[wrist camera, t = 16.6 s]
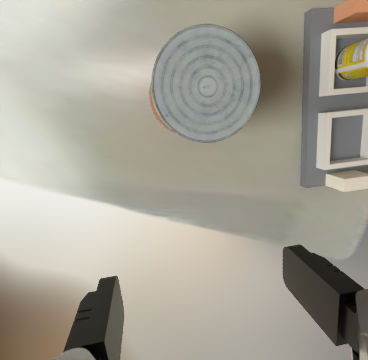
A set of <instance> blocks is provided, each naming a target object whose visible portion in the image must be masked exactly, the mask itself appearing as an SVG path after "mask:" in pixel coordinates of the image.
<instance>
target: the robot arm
mask: <svg viewBox="0 0 368 360" xmlns="http://www.w3.org/2000/svg"><path fill="white" fill-rule="evenodd" d="M283 279H284V282H285V285H286V287H287V288H288V289H289V291H290V292H291V293H292V294H293V295H294V297H295V298H296V299H297V300H298V301H299V303H300V304H301V305H302V306H303V307H304V308H305V310H306V311H307V312H308V313H309V314H310V315H311V316H312V318H313V319H314V320H315V322H316V323H317V324H318V325H319V326H320V328H321V329H322V330H323V331H324V332H325V333H326V335H327V336H328V337H329V338H330V339H331V340H332V342H333V343H334V344H335V345H336V346H339V345H343V344H347V343H348V344H349V345H350V346H351V360H368V289H364V288H363V287H361V286H360V285H359V284H357V283H356V282H355V281H354V280H352V279H351V278H350V277H348V276H347V275H346V274H345V273H343V272H342V271H340V270H339V269H338V268H337V267H336V266H333V264H331V263H330V262H329V261H328V260H327V259H325V258H324V257H321V256H319V255H317V254H315V253H310V252H309V251H308V250H307V249H305V248H304V247H303V246H302V245H294V246H288V247H284V249H283ZM123 323H124V308H123V301H122V296H121V291H120V285H119V280H118V277H117V276H113V277H107V278H101V279H100V280H99V284H98V287H97V291H95V292H89V293H88V294H87V295H86V296H85V297H84V298H83V300H82V301H81V302H80V305H79V308H78V311H77V314H76V317H75V321H74V323H73V325H72V328H71V331H70V334H69V337H68V340H67V343H66V346H65V349H64V351H63V353H62V354H61V355H59V356H58V357H57V358H56V359H54V360H120V353H121V342H122V333H123Z"/></svg>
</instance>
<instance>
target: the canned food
mask: <svg viewBox="0 0 368 360" xmlns="http://www.w3.org/2000/svg"><path fill="white" fill-rule="evenodd" d="M260 89H261V77H260V70H259V66H258V63H257V60H256V58H255V56H254V54H253V52H252V50H251V49H250V47H249V46H248V44H247V43H246V42H245V41H244V40H243V39H242V38H241V37H240V36H239V35H237V34H236V33H234V32H233V31H231V30H229V29H227V28H225V27H222V26H218V25H213V24H200V25H194V26H191V27H188V28H186V29H183V30H182V31H180V32H178V33H177V34H175V35H174V36H173V37H172V38H171V39H170V40H169V41H168V42H167V43H166V44H165V45H164V47H163V48H162V49H161V51H160V53H159V55H158V57H157V59H156V61H155V64H154V68H153V73H152V81H151V84H150V90H149V99H150V104H151V108H152V111H153V113H154V115H155V117H156V118H157V120H158V121H159V122H160V123H161V124H162V125H163V126H164V127H165V128H167V129H168V130H170V131H172V132H174V133H177V134H178V135H180V136H182V137H183V138H186V139H188V140H191V141H195V142H201V143H211V142H217V141H221V140H224V139H226V138H228V137H230V136H232V135H234V134H235V133H237V132H238V131H239V130H240V129H242V128H243V126H244V125H245V124H246V123H247V122H248V121H249V119H250V118H251V116H252V115H253V113H254V111H255V109H256V106H257V103H258V100H259V96H260Z"/></svg>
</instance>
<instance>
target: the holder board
mask: <svg viewBox="0 0 368 360" xmlns="http://www.w3.org/2000/svg"><path fill="white" fill-rule="evenodd" d="M365 39H368V0H347V1H345V2H343V3H342V4H340V5H338V6H337V7H335V8H319V9H310V10H309V11H307V12H306V13H305V22H304V63H303V104H302V146H301V186H303V187H305V188H309V187H316V186H323V185H326V186H329V187H331V188H334V189H337V190H340V191H342V192H347V191H354V190H361V189H368V77H363V78H358V79H353V80H341V79H339V78H338V77H337V76H336V74H335V72H334V71H335V56H336V54H337V53H338V52H339V51H340V50H341V49H342V48H344V47H346V46H349V45H352V44H354V43H357V42H360V41H362V40H365Z"/></svg>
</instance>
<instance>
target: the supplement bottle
mask: <svg viewBox="0 0 368 360" xmlns="http://www.w3.org/2000/svg"><path fill="white" fill-rule="evenodd" d="M334 72H335V74H336V76H337V77H338V78H339V79H341V80H353V79H358V78H363V77H368V39H365V40H362V41H360V42H357V43H354V44H352V45H349V46H346V47H344V48H342V49H341V50H340V51H339V52H338V53H337V54H336V56H335V71H334Z"/></svg>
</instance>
